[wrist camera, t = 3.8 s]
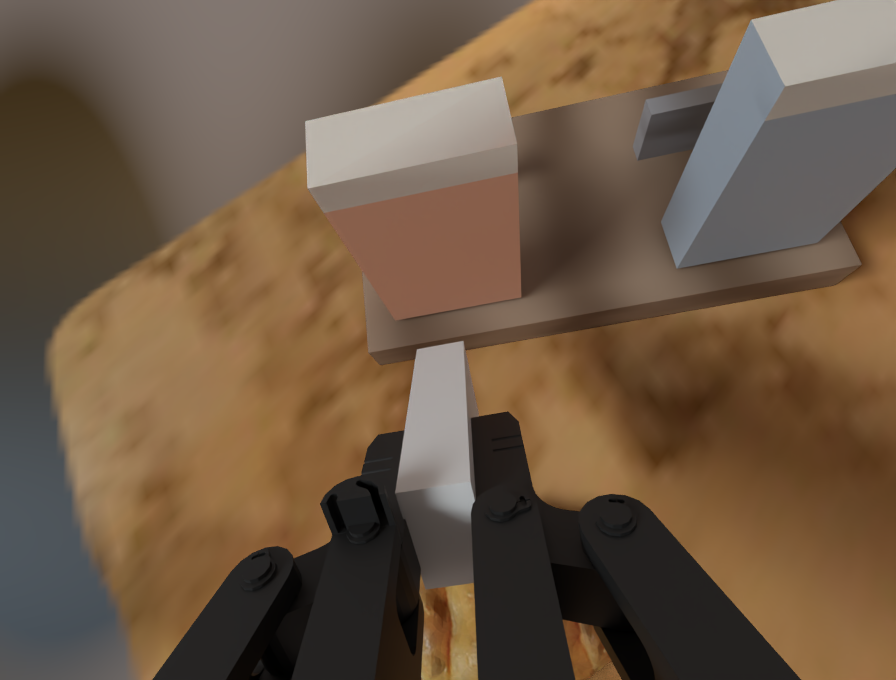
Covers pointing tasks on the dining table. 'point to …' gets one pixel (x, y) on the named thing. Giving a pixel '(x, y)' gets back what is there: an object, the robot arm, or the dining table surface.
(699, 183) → the grey rectangular block
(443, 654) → the pastry
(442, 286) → the pink upright block
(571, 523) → the robot arm
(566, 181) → the taupe stand
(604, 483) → the dining table surface
